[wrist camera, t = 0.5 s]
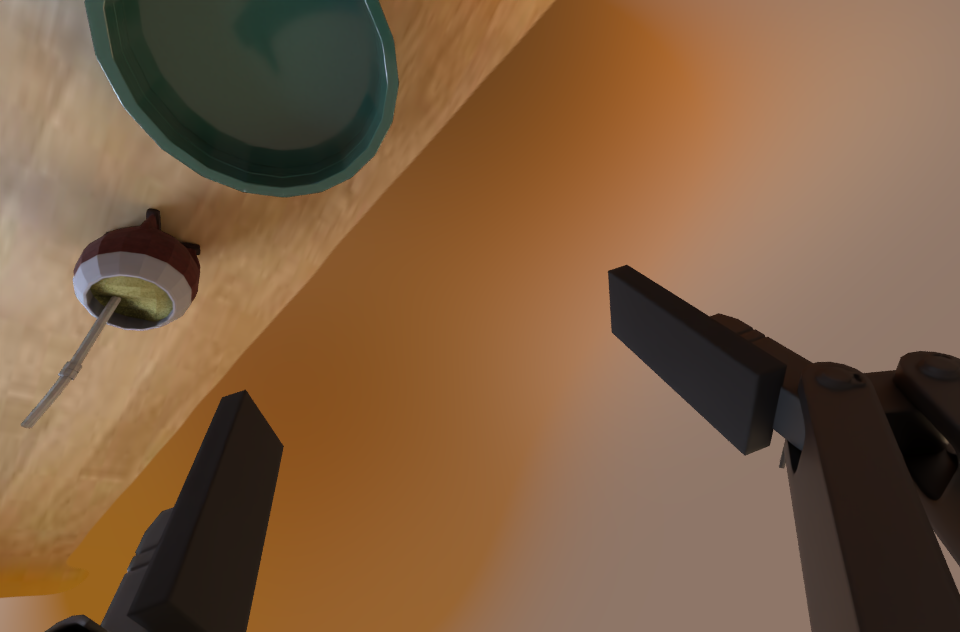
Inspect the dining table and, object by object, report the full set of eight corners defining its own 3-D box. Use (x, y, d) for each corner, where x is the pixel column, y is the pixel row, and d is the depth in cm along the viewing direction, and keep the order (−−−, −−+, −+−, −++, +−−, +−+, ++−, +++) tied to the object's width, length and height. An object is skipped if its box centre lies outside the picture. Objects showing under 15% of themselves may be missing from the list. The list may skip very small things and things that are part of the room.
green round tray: (143, -214, 20) (121, -236, 17) (427, 17, 30) (442, 27, 27) (86, 101, 27) (63, 123, 24) (332, 205, 37) (337, 229, 34)
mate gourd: (207, 213, 34) (175, 339, 24) (204, 289, 38) (176, 424, 28) (85, 192, 30) (-14, 331, 20) (97, 278, 35) (20, 429, 24)
